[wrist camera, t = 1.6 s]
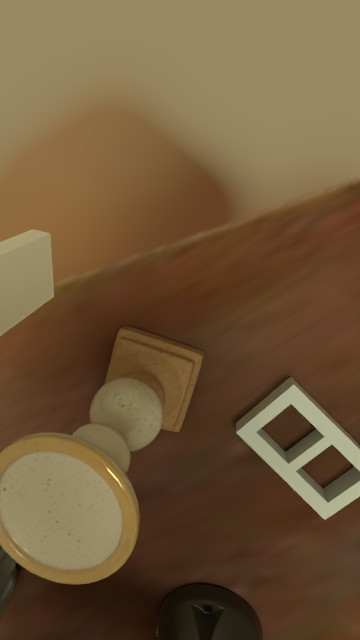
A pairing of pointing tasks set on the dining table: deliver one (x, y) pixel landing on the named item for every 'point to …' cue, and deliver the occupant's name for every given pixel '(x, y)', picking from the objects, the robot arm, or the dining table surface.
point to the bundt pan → (6, 578)
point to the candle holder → (94, 465)
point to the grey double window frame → (303, 448)
